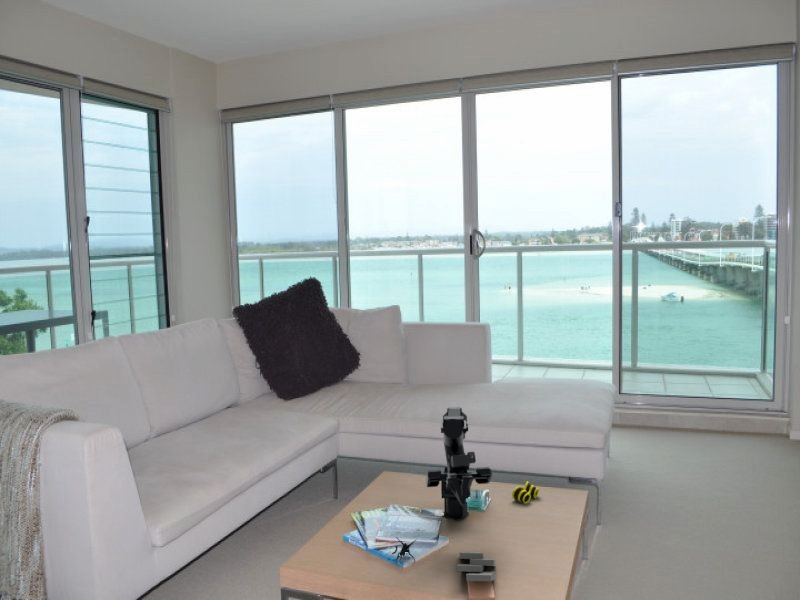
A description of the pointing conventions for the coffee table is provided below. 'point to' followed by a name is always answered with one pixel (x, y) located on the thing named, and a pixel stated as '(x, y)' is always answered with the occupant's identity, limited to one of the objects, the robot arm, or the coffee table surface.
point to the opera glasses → (525, 493)
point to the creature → (403, 550)
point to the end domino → (480, 590)
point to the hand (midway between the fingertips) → (463, 505)
